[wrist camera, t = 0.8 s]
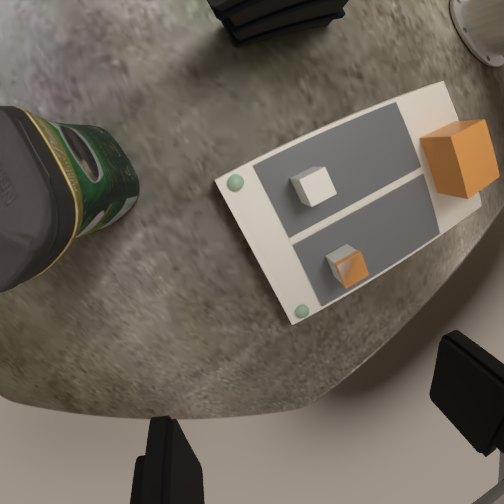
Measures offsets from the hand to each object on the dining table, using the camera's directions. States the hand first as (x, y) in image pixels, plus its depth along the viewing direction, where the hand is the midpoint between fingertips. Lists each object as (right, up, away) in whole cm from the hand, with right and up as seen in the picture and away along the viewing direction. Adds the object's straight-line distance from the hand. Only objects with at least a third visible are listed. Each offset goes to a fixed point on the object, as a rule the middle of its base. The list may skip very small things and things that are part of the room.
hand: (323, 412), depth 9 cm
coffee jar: (-17, +12, +18) cm, 28 cm away
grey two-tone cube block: (+6, +4, +20) cm, 21 cm away
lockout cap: (+19, +16, +19) cm, 31 cm away
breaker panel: (+10, +12, +21) cm, 26 cm away
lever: (+3, +11, +18) cm, 21 cm away
